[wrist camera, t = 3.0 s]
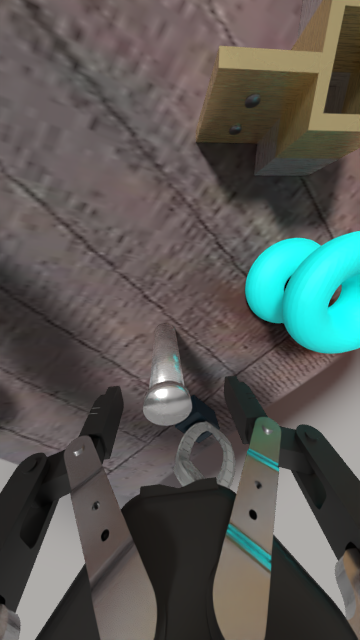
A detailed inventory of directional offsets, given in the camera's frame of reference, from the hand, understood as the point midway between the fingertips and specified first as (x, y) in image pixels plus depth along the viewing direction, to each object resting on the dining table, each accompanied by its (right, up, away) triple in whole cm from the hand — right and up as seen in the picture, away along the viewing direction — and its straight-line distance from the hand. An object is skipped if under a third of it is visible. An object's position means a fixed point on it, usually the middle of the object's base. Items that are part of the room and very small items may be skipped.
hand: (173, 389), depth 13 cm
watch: (+3, -10, +16) cm, 19 cm away
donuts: (+13, +10, +9) cm, 19 cm away
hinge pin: (-1, +4, +10) cm, 11 cm away
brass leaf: (+8, +23, +3) cm, 24 cm away
